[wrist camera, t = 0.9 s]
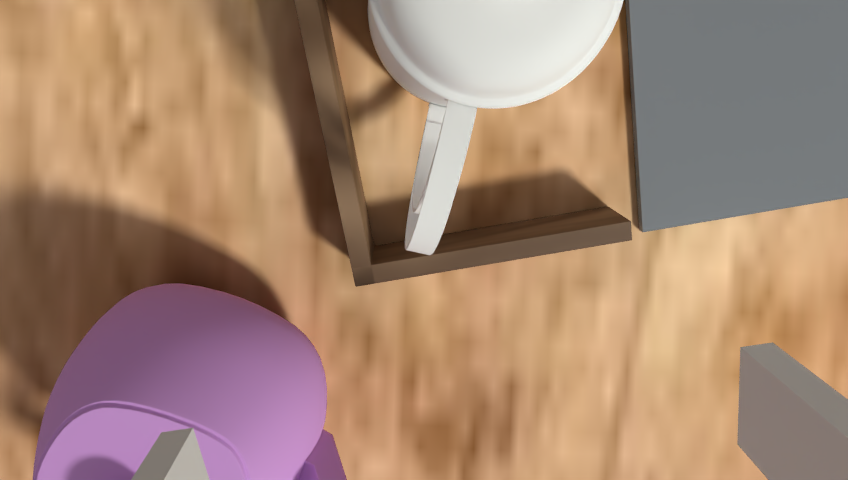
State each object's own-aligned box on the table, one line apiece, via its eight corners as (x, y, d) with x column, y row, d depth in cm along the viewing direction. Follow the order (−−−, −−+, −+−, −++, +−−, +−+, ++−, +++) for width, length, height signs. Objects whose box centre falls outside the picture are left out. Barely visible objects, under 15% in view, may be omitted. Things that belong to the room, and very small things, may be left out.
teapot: (319, 544, 46) (280, 762, 31) (68, 464, 43) (-104, 663, 28) (417, 336, 41) (424, 481, 26) (141, 231, 38) (-21, 328, 23)
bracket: (249, -266, 30) (226, -314, 27) (567, -324, 30) (591, -382, 26) (360, 265, 39) (355, 286, 35) (609, 223, 39) (631, 240, 35)
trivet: (617, -134, 33) (620, -138, 32) (859, -178, 33) (868, -182, 32) (639, 229, 39) (642, 232, 38) (843, 195, 39) (850, 197, 38)
